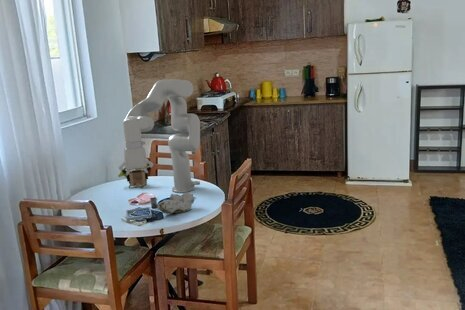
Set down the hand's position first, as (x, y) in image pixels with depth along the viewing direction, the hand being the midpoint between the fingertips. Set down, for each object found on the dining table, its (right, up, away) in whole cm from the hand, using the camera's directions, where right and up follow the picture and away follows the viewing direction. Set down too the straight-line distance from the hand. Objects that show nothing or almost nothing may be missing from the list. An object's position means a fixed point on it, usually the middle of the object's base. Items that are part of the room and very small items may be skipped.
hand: (137, 181), depth 217 cm
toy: (-11, -6, +52) cm, 54 cm away
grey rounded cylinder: (+6, -14, +13) cm, 20 cm away
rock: (+19, -15, +5) cm, 24 cm away
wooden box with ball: (0, -1, 0) cm, 1 cm away
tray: (0, -17, +2) cm, 17 cm away
